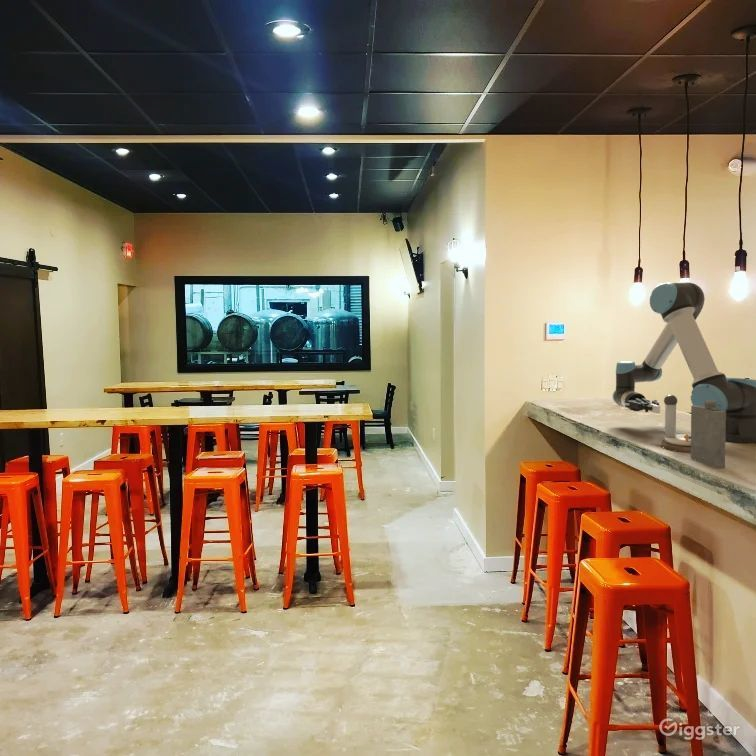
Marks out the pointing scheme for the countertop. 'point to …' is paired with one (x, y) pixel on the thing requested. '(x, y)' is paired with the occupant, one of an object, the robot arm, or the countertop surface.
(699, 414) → the hip flask
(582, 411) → the countertop surface
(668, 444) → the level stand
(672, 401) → the light grey l-shaped piece
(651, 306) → the robot arm
